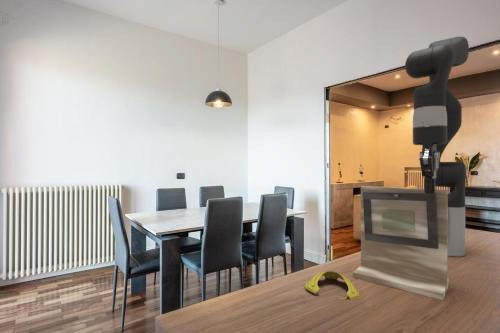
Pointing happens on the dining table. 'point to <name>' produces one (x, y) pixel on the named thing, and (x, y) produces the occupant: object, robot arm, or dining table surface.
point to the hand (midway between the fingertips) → (429, 193)
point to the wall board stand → (407, 255)
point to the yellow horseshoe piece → (312, 283)
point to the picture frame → (401, 218)
